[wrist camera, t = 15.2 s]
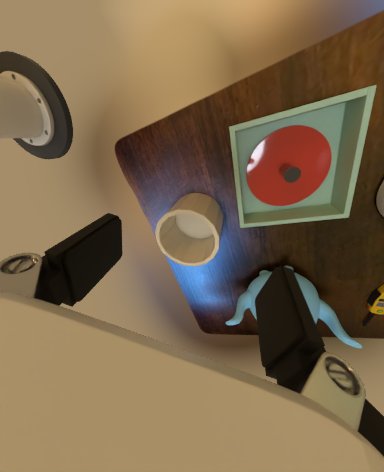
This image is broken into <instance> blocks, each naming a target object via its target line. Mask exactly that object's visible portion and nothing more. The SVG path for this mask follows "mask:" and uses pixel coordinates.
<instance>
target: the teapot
mask: <svg viewBox="0 0 384 472" xmlns="http://www.w3.org/2000/svg"><path fill="white" fill-rule="evenodd" d="M284 267H287V268H290V269H292V270H293V268H292V267H290V266H284ZM271 273H272V272H269V271H267V270H263V271H261V272H260V273H259V275H260V276H259V277H257V278H256V279H254V280H253V281H252V282H251V283H250V285H249V287H248V289H247V292H245V293H243V294H242V295H241V296H240V297H239V300H238V303H237V309H236V314H235V316H234V317H233V318H232V319H231V320H229V321H227V322H226V324H227V325H235V324H238V323H240V322H241V320H242V318H243V313H244V311H245V310H246V309H247V308H250V310H251V312H252V314H253V315H254V317H255V318H256V320H257V317H256V308H255V298H256V296H257V294H258V293H259V291H260V290H261V288H262V287H263V285H264V284H265V282H266V281H267V279H268V278H269V276H270V275H271ZM294 274H295V276H296V278H297V281H298V283H299V286H300V288H301V290H302V293H303V295H304V297H305V300H306V302H307V304H308V307H309V309H310V312H311V314H312V316H313V319H314V321H315V323H316V322H317V319H318V318H319V319H321V320H323V321H324V322H325V323H326V324H327V325H328V326H329V327H330V329H331V330H332V332H333V333H334V334H335V335H336V336H337V337H338V338H339V339H340V340H341V341H343V342H344V343H346V344H348V345H350V346H353V347H356V348H362V346H361V345H360V344H359V343H357V342H356V341H354V340H353V339H352V338H351V337H349V336H348V335H347V334H346V332H345V331H344V330H343V328H342V326H341V325H340V323H339V320H338V318H337V316H336V314H335V313H334V311H333V310H332V308H331V307H330V306H329V305H327V304H326V303H325V302H323V301H322V300H320V299H319V296H318V293H317V291H316V288H315V287H314V285H313V284H312V283H311V282H310V281H309V280H307V279H306V278H304V277H303V276H300V275H299V274H298V273H294Z"/></svg>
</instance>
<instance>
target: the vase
mask: <svg viewBox="0 0 384 472" xmlns="http://www.w3.org/2000/svg"><path fill="white" fill-rule="evenodd" d="M376 204H377V208H378V210H379V212H380V214H381V215H382V216H383V217H384V181H383V182H382V184H381V186H380V188H379V190H378V193H377V198H376Z"/></svg>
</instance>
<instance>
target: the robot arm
mask: <svg viewBox="0 0 384 472" xmlns="http://www.w3.org/2000/svg"><path fill="white" fill-rule="evenodd" d="M53 135H54V120H53V115H52V112H51V109H50V107H49V105H48V102H47V101H46V99H45V97H44V95H43V94H42V93H41V91H40V90H39V89H38V87H37V86H36V85H35V84H34V83H33V82H32V81H31V80H29V79H28V78H27V77H25V76H23V75H22V74H19V73H16V72H12V71H4V72H2V73H1V74H0V138H21V139H22V140H24V141H25V142H27V143H29V144H31V145H35V146H44V145H47V144H48V143H50V141H51V140H52V138H53ZM121 228H122V227H121V220H120V219H119V217H118V216H116V215H113V214H110V213H108V214H106V215H104V216H103V217H101V218H99V219H98V220H96V221H94V222H93V223H91V224H90V225H88V226H86V227H84V228H83V229H81V230H80V231H78V232H76V233H75V234H73V235H71V236H70V237H68V238H66V239H65V240H63V241H62V242H60V243H58V244H57V245H55V246H53V247H52V248H50V249H48V250H47V251H45V256H43V257H41V256H40V255H38V254H35V253H21V254H16V255H13V256H10V257H8V258H6V259H4V260H3V261H1V262H0V472H384V416H383V415H382V414H380V412H379V411H378V410H376V408H375V407H373V406H372V405H371V404H370V403H369V402H368V401H367V400H366V399H365V397H366V393H365V388H364V385H363V383H362V381H361V379H360V377H359V375H358V374H357V373H356V371H355V370H354V369H353V368H352V367H351V366H350V365H349V364H348V363H347V362H346V361H345V360H344V359H342V358H341V357H339V356H338V355H336V354H334V353H330V352H326V351H325V348H324V346H325V345H324V342H323V340H322V338H321V335H320V333H319V330H318V328H317V326H316V323H315V321H314V319H313V316H312V314H311V312H310V309H309V307H308V304H307V302H306V300H305V297H304V295H303V293H302V290H301V288H300V286H299V283H298V281H297V278H296V276H295V274H294V271H293V270H292V269H290V268H287V267H284V266H280V267H279V268H278V267H276V268H275V269H274V270H273V272H272V273H271V275H270V276H269V278H268V279H267V281H266V282H265V284H264V285H263V287H262V288H261V290H260V291H259V293H258V294H257V296H256V298H255V308H256V317H257V326H258V335H259V344H260V352H261V361H262V365H263V367H265V370H266V376H269V377H271V378H274V379H277V384H278V385H277V384H275V383H272V382H269V381H267V380H264V379H261V378H259V377H256V376H254V375H251V374H249V373H246V372H243V371H240V370H238V369H235V368H232V367H229V366H226V365H224V364H221V363H219V362H216V361H213V360H210V359H208V358H204V357H202V356H199V355H196V354H194V353H191V352H188V351H185V350H183V349H180V348H177V347H174V346H172V345H169V344H166V343H163V342H160V341H158V340H155V339H152V338H149V337H146V336H144V335H141V334H137V333H135V332H132V331H130V330H127V329H124V328H121V327H118V326H115V325H113V324H110V323H107V322H104V321H101V320H98V319H95V318H92V317H90V316H87V315H84V314H81V313H78V312H75V311H73V310H70V309H67V308H64V307H61V306H59V305H60V304H61V303H62V302H63V303H64V304H66V305H69V306H73V305H74V304H75V303H76V302H77V301H78V302H79V301H81V300H82V299H83V298H84V297H85V296H86V295H87V294H88V293H89V292H90V290H91V289H92V288H93V287H94V286H95V285H96V284H97V283H98V282H99V281H100V280H101V279H102V278H103V277H104V275H105V274H106V273H107V272H108V271H109V270H110V269H111V268H112V267H113V266H114V265H115V264H116V263H117V262H118V260H119V259H120V258H121V256H122V229H121Z"/></svg>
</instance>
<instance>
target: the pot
mask: <svg viewBox="0 0 384 472" xmlns="http://www.w3.org/2000/svg"><path fill="white" fill-rule="evenodd" d="M223 217H224V216H223V212H222V209H221V207H220V206H219V204H218V203H217V202H216V201H215V200H214V199H213V198H211V197H210V196H208V195H205V194H201V193H190V194H187V195H185V196H183V197H181V198H180V199H179V200H178V201H177V202H176V203H175V204H174V205H173V207H172V208H171V209H170V210H169V211H168V212H167V213H166V214H165V215H164V216H163V217H162V218H161V219H160V220H159V221H158V224H157V228H156V231H155V234H156V240H157V244H158V245H159V247H160V249H161V250H162V252H163V253H164V254H165V255H166V256H167V257H168V258H170V259H171V260H172V261H174V262H177V263H179V264H181V265H186V266H198V265H203V264H206V263H207V262H209V261H210V260H212V259H213V258H214V257H215V255H216V253H217V251H218V250H219V245H220V240H221V234H222V228H223Z"/></svg>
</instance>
